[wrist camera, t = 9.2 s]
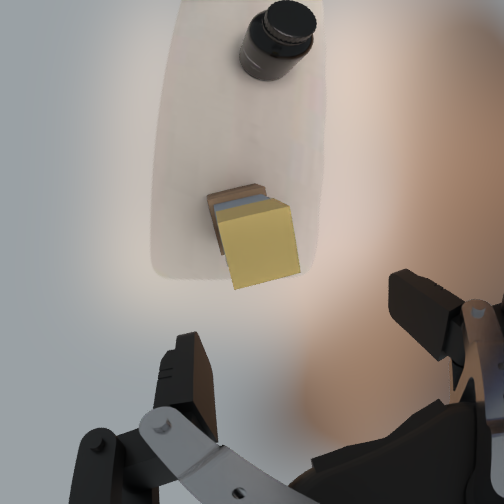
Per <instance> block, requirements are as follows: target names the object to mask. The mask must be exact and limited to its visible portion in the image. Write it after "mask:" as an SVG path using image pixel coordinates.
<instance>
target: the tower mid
mask: <svg viewBox="0 0 504 504" xmlns="http://www.w3.org/2000/svg"><path fill="white" fill-rule="evenodd" d="M267 199H271V198H269V197H267V196H265V195H263V194H259V195H254V196H249V197H245V198H240V199H236V200H232V201H227V202H223V203H219V204H215V205H214V211H215V216H216V211H220V210H224V209H228V208H232V207H237V206H241V205H245V204H250V203H254V202H258V201H263V200H267ZM216 220H217V217H216ZM217 225H218V223H217ZM218 229H219V227H218ZM219 233H220V231H219ZM220 237H221V235H220ZM221 241H222V239H221ZM222 245H223V243H222ZM223 249H224V247H223ZM224 253H225V251H224ZM225 258H226V255H225ZM226 262H227V259H226ZM227 266H228V263H227Z"/></svg>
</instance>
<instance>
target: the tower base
mask: <svg viewBox="0 0 504 504" xmlns="http://www.w3.org/2000/svg"><path fill="white" fill-rule="evenodd" d="M259 194H263V195H265V196H267V195H266V190H265V187H264V186H261V185H258V184H251V185H246V186H242V187H238V188H233V189H229V190H225V191H221V192H217V193H213V194H209V195H208V197H207V201H208V205H209V209H210V213H211V217H212V221H213V225H214V229H215V233H216V237H217V240H218V244H219V248H220V252H221V255H225V253H224V249H223V245H222V241H221V237H220V233H219V229H218V225H217V220H216V216H215V211H214V205H215V204H219V203H223V202H227V201H232V200H236V199H240V198H245V197H249V196H254V195H259Z"/></svg>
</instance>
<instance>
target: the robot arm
mask: <svg viewBox="0 0 504 504" xmlns="http://www.w3.org/2000/svg"><path fill="white" fill-rule="evenodd" d="M388 308H389V312H390V315H391V317H392V318H393V319H394V320H395V321H396V322H397V323H398V324H399V325H400V326H401V327H402V328H403V329H404V330H406V331H407V332H408V333H409V334H410V335H411V336H412V337H413V338H414V339H415V340H416V341H417V342H418V343H419V344H420V345H421V346H422V347H424V348H425V349H426V350H427V351H428V352H429V353H430V354H431V355H432V356H433V357H434V358H435V359H436V360H437V361H440V360H442V359H443V358H445V357H446V356H449V357H450V361H449V386H450V399H449V404H448V405H444V404H443V403H442V402H441V401H440V399H437V400H436V401H434V402H433V403H431V404H429V405H428V406H426V407H425V408H423V409H421V410H420V411H418V412H416V413H415V414H413V415H412V416H411V417H409V418H408V419H407V420H406V421H405V422H404V423H403V424H402V425H400V426H399V427H398V428H397V429H396V430H395V431H393V432H392V433H391V434H390V435H388V436H387V437H385V438H382V439H378V440H374V441H370V442H365V443H360V444H355V445H350V446H346V447H343V448H341V449H338V450H335V451H333V452H330V453H327V454H324V455H322V456H318V457H315V458H312V459H311V462H312V468H311V469H309V470H307V471H306V472H304V473H303V474H301V475H300V476H298V477H297V478H296V479H295V480H294V481H293V482H291V483H290V484H289V485H288V486H286V485H284V484H283V483H281V482H279V481H278V480H276V479H274V478H273V477H271V476H270V475H268V474H266V473H265V472H263V471H262V470H260V469H259V468H257V467H256V466H254V465H253V464H251V463H250V462H248V461H247V460H245V459H244V458H243V457H241V456H240V455H238V454H237V453H236V452H234V451H233V450H231V449H230V448H228V447H227V446H225V445H222V446H219V445H218V444H216V443H217V442H218V433H217V422H216V410H215V397H214V384H213V373H212V368H211V365H210V362H209V359H208V357H207V355H206V352H205V350H204V347H203V345H202V342H201V340H200V337H199V335H198V333H197V332H191V333H187V334H182V335H178V336H177V339H176V348H175V349H174V350H169V351H167V353H166V354H165V355H164V357H163V358H162V360H161V363H160V369H159V370H160V372H159V375H158V381H157V387H156V393H155V399H154V406H153V410H151V411H149V412H148V413H147V414H145V416H144V417H143V418H142V419H141V421H140V424H139V428H137V429H135V430H132V431H129V432H126V433H124V434H120V435H118V436H116V435H115V434H114V433H113V432H112V431H111V430H109V429H107V428H96V429H93V430H91V431H89V432H88V433H87V434H86V435H85V436H84V437H83V438H82V440H81V443H80V446H79V450H78V455H77V459H76V464H75V469H74V474H73V480H72V485H71V492H70V497H69V504H160V503H159V486H161V485H164V484H167V483H170V482H173V481H176V480H179V481H180V483H181V484H182V485H183V486H184V487H185V488H186V489H187V490H188V491H189V492H190V493H191V494H192V495H193V496H194V497H195V498H197V499H198V500H199V501H200V502H201V503H202V504H504V295H503V299H502V303H500V304H496V305H493V306H491V305H490V304H489V303H488V302H486V301H483V300H480V299H472V300H468V301H466V302H465V301H463V300H462V299H460V298H459V297H457V296H455V295H454V294H452V293H451V292H449V291H447V290H446V289H443V287H441V286H440V285H437V283H435V282H433V281H432V280H430V279H428V278H424V277H421V276H418V275H416V274H414V273H413V272H411V271H410V270H408V269H403V270H400V271H398V272H395V273H392V274H391V275H390V276H389V299H388Z"/></svg>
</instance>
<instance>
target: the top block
mask: <svg viewBox="0 0 504 504" xmlns="http://www.w3.org/2000/svg"><path fill="white" fill-rule="evenodd" d="M216 217H217V223H218V227H219V231H220V235H221V239H222V243H223V247H224V251H225V255H226V259H227V263H228V267H229V271H230V275H231V278H232V282H233V286H234V290H236V289H240V288H244V287H248V286H251V285H256V284H260V283H263V282H267V281H271V280H275V279H279V278H282V277H286V276H290V275H294V274H297V273H301V272H300V265H299V259H298V253H297V246H296V240H295V234H294V228H293V223H292V217H291V211H290V206H288V205H286V204H284V203H282V202H280V201H278V200H276V199H274V198H272V199H267V200H263V201H258V202H254V203H250V204H245V205H241V206H237V207H232V208H228V209H224V210H220V211H216Z"/></svg>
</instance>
